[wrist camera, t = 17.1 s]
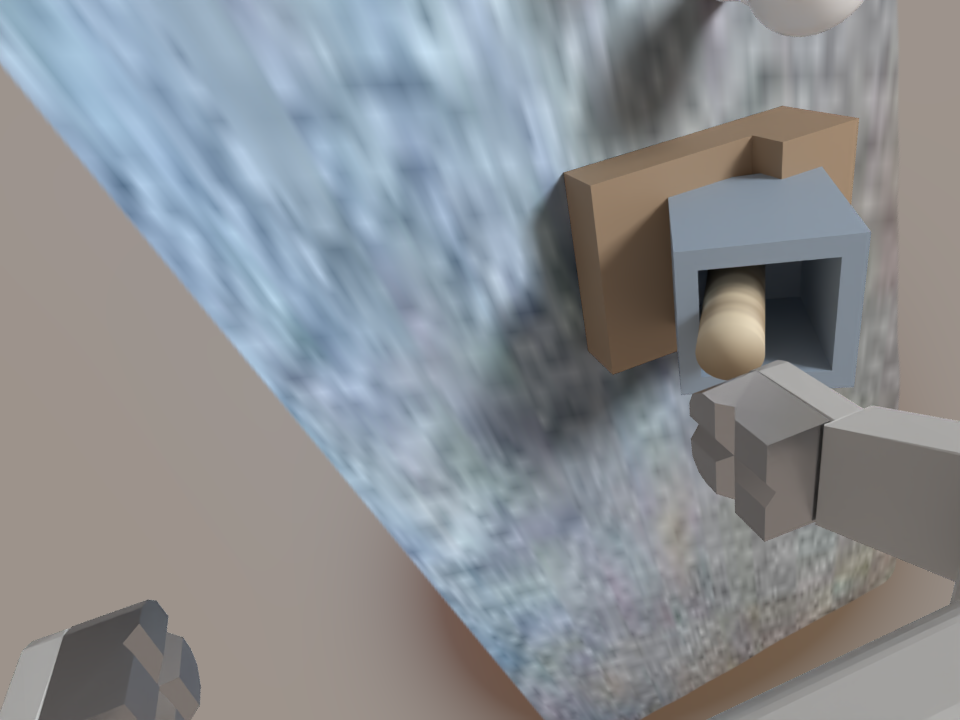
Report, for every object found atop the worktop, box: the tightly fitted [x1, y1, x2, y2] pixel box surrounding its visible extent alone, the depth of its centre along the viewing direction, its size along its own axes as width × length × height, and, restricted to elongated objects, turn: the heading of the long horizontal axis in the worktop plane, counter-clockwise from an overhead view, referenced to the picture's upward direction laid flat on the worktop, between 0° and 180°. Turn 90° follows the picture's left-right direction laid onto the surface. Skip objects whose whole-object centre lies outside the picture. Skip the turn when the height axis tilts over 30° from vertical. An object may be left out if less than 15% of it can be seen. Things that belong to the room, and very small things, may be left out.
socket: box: [564, 106, 871, 395], centre depth 41 cm, size 14×17×16 cm
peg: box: [695, 264, 765, 380], centre depth 39 cm, size 3×3×12 cm
